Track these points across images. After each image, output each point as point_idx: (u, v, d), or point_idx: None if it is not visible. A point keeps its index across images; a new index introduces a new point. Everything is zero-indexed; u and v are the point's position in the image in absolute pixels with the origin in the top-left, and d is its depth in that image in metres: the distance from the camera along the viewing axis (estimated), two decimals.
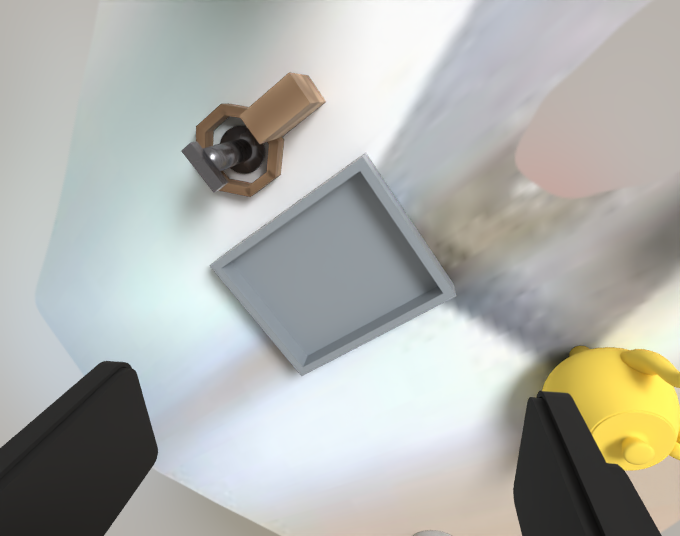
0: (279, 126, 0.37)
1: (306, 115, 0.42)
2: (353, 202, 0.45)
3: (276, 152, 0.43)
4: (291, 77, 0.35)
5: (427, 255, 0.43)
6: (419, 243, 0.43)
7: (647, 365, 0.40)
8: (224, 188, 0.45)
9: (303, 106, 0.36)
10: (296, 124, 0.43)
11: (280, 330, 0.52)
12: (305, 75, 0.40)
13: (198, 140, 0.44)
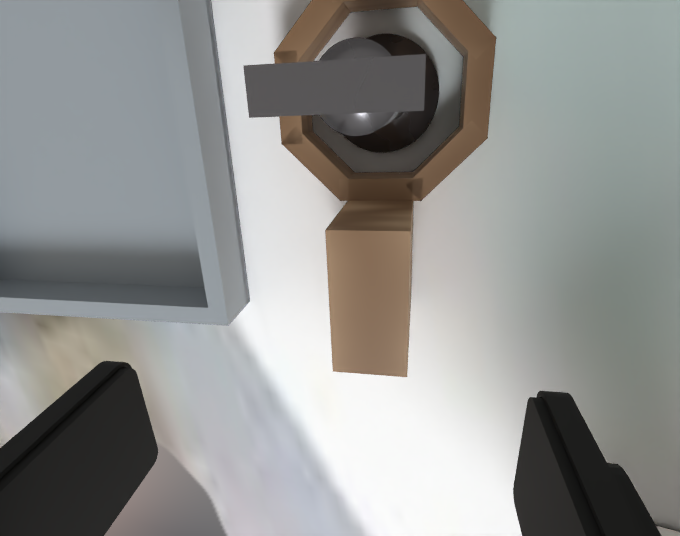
0: (331, 294, 0.16)
1: None
2: (178, 237, 0.23)
3: (324, 182, 0.19)
4: (396, 374, 0.16)
5: (32, 311, 0.24)
6: (55, 313, 0.24)
7: None
8: None
9: (335, 358, 0.17)
10: None
11: None
12: None
13: (465, 16, 0.16)
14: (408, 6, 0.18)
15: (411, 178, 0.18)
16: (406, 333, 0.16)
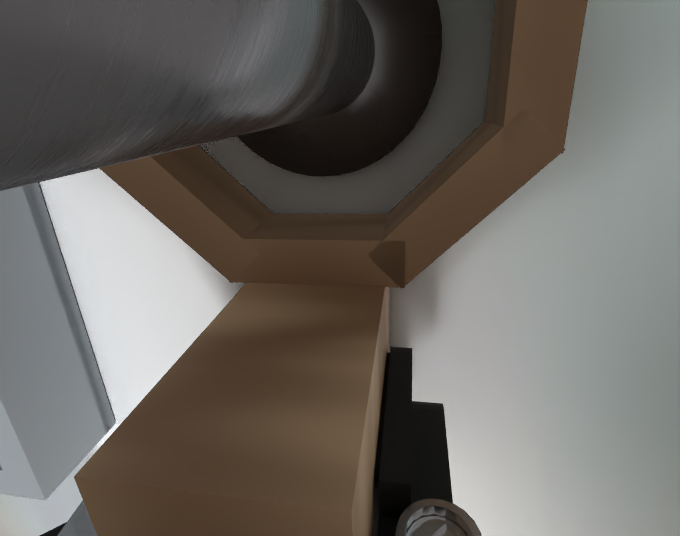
0: None
1: None
2: None
3: (194, 244, 0.09)
4: None
5: None
6: None
7: None
8: None
9: None
10: None
11: None
12: None
13: None
14: None
15: (380, 239, 0.08)
16: None
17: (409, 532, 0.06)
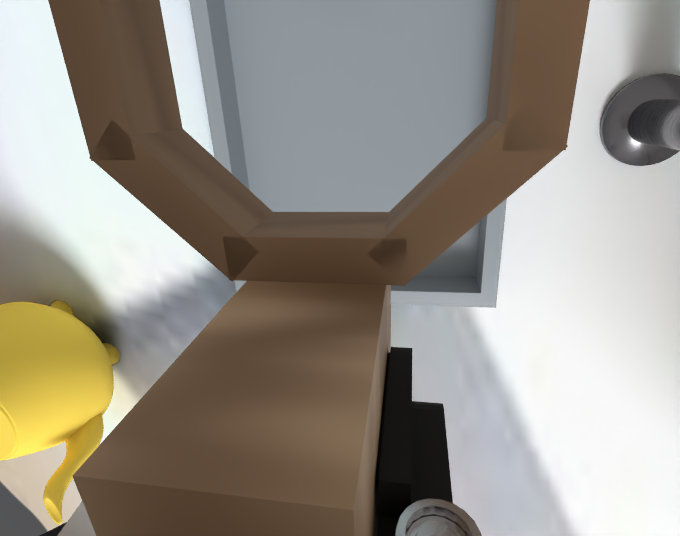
0: None
1: None
2: None
3: (194, 242, 0.09)
4: None
5: None
6: None
7: (80, 453, 0.33)
8: None
9: None
10: None
11: None
12: None
13: None
14: None
15: (381, 237, 0.08)
16: None
17: (409, 532, 0.06)
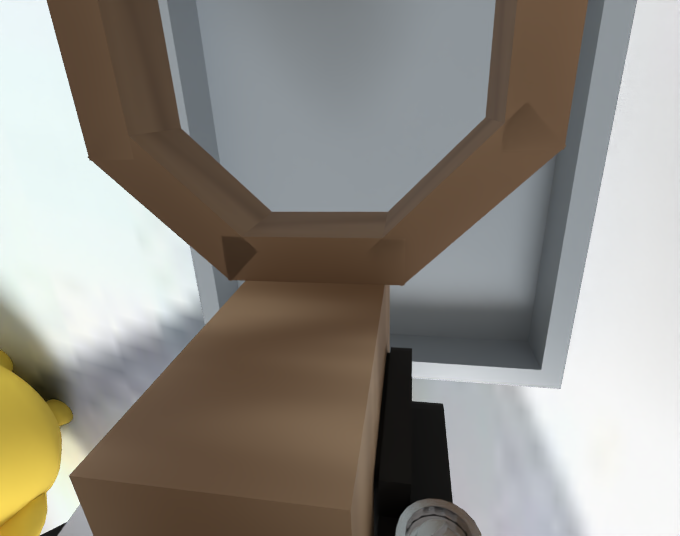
0: None
1: None
2: (482, 287, 0.21)
3: (192, 242, 0.09)
4: None
5: None
6: None
7: None
8: None
9: None
10: None
11: None
12: None
13: None
14: None
15: (380, 237, 0.08)
16: None
17: (409, 532, 0.06)
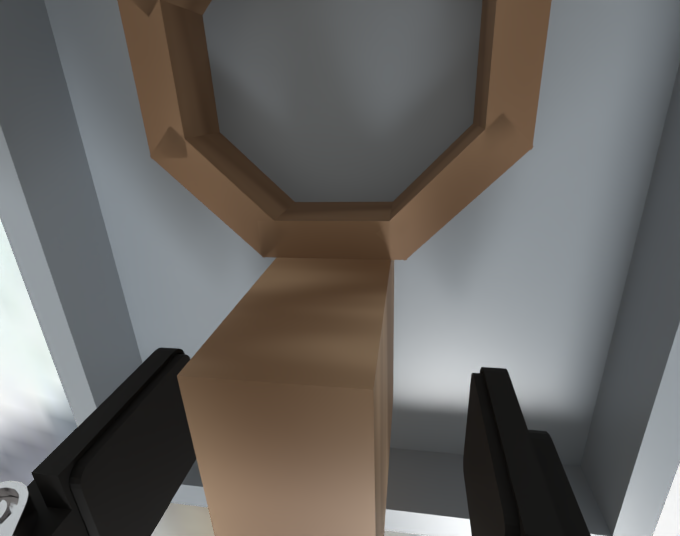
0: (210, 494, 0.07)
1: None
2: None
3: (233, 225, 0.11)
4: None
5: None
6: None
7: None
8: None
9: None
10: None
11: None
12: (390, 423, 0.13)
13: None
14: None
15: (387, 220, 0.10)
16: None
17: None
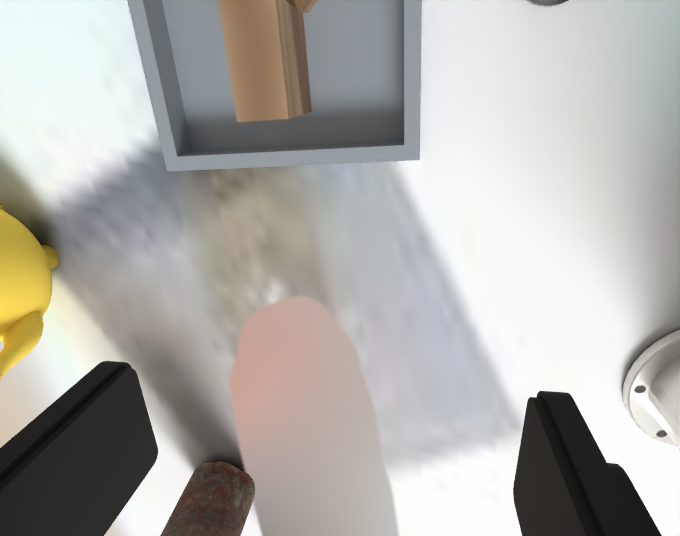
0: (228, 53, 0.22)
1: None
2: (365, 96, 0.28)
3: None
4: (281, 117, 0.23)
5: (242, 166, 0.29)
6: (263, 165, 0.29)
7: (17, 344, 0.33)
8: None
9: (237, 109, 0.23)
10: None
11: None
12: None
13: None
14: None
15: None
16: (283, 80, 0.22)
17: None
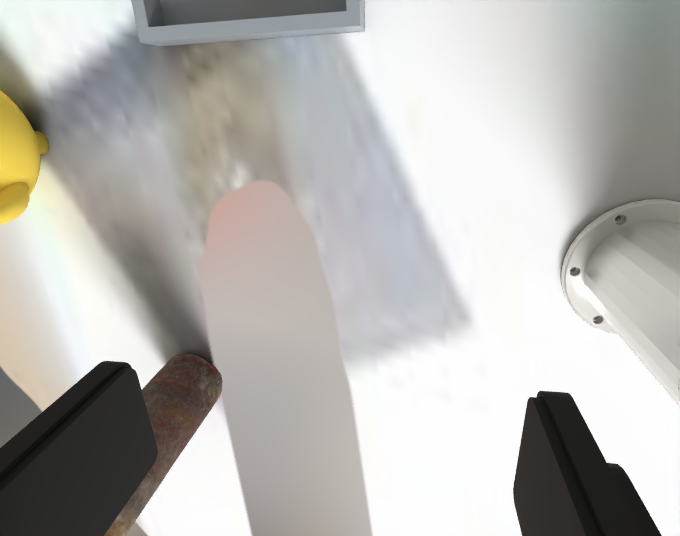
0: None
1: None
2: None
3: None
4: None
5: (204, 35, 0.32)
6: (223, 34, 0.32)
7: (3, 204, 0.36)
8: None
9: None
10: None
11: None
12: None
13: None
14: None
15: None
16: None
17: None
